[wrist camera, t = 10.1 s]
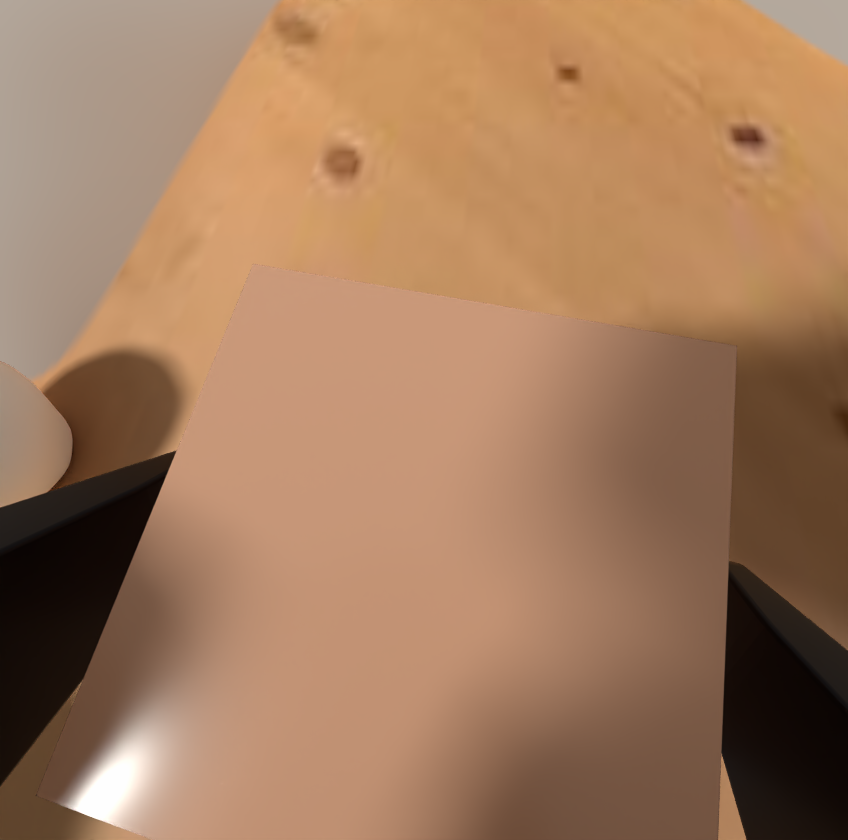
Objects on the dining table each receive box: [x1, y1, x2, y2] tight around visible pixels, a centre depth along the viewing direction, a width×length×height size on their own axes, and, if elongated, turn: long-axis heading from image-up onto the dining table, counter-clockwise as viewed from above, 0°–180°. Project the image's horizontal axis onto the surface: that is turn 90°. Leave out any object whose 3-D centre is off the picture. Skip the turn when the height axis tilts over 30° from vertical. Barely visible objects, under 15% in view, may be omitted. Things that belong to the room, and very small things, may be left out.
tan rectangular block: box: [36, 264, 737, 840], centre depth 10 cm, size 6×6×12 cm
